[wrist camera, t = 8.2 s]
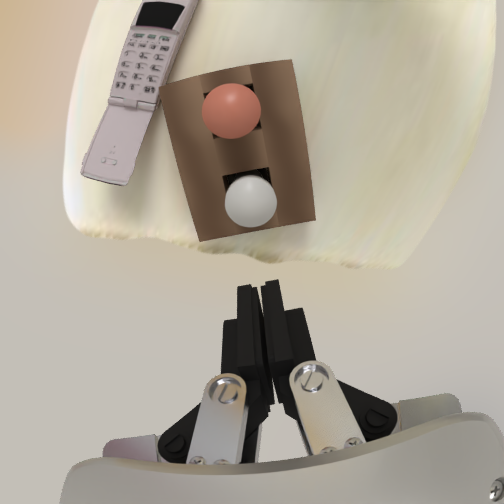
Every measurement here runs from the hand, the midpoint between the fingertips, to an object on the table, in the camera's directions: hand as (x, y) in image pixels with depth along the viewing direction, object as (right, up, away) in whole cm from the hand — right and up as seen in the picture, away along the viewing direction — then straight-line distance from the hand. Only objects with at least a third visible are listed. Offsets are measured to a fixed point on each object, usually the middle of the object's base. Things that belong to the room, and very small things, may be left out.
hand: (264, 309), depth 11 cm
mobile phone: (-11, +23, +12) cm, 28 cm away
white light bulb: (-1, +10, +18) cm, 21 cm away
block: (-2, +14, +17) cm, 22 cm away
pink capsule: (-2, +16, +13) cm, 21 cm away
